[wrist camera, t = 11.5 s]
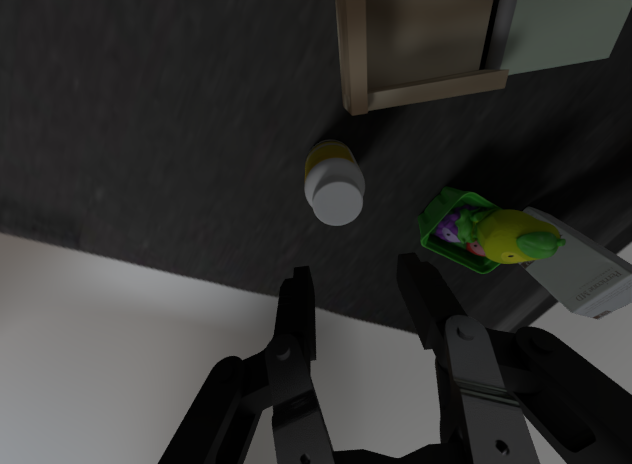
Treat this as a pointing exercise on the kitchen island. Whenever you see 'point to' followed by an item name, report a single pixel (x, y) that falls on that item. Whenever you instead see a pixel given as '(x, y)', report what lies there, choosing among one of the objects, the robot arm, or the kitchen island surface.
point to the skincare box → (582, 272)
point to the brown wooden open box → (412, 51)
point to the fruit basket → (484, 232)
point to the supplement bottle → (333, 183)
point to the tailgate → (553, 33)
